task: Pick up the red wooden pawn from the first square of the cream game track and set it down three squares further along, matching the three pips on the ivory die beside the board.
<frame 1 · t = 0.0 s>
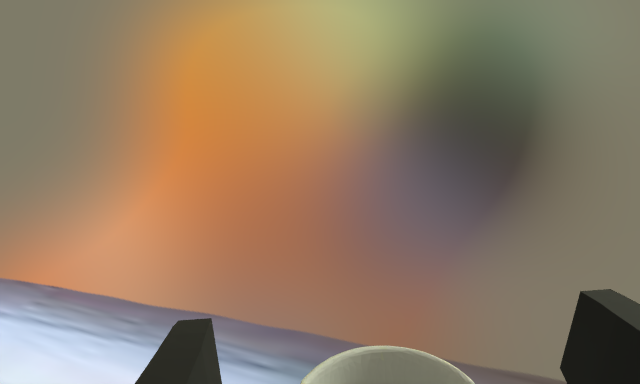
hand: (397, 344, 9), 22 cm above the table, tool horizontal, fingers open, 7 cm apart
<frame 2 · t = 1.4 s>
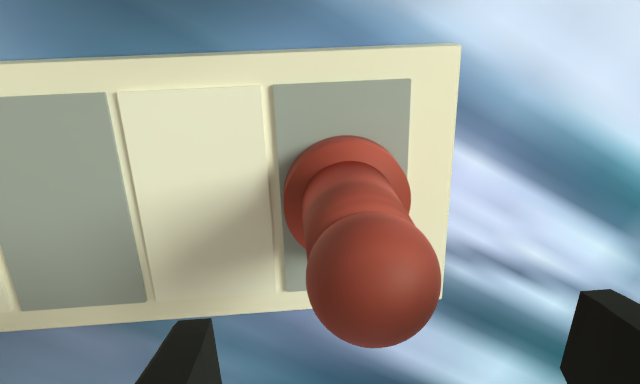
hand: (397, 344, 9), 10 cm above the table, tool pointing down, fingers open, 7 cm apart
pawn: (344, 194, 17), point 1 cm above the table, touching board
board: (72, 197, 18), on the table
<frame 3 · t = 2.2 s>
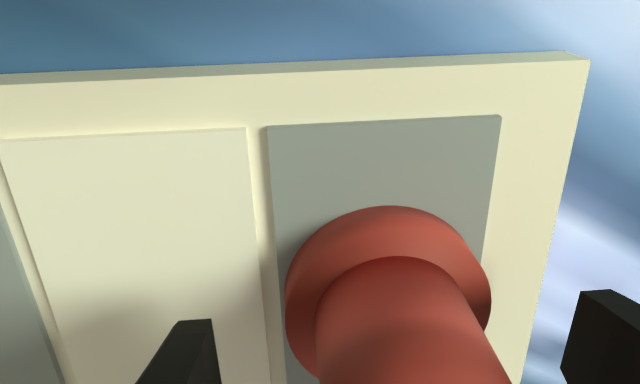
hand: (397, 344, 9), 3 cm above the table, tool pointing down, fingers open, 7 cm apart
pawn: (380, 289, 11), point 1 cm above the table, touching board
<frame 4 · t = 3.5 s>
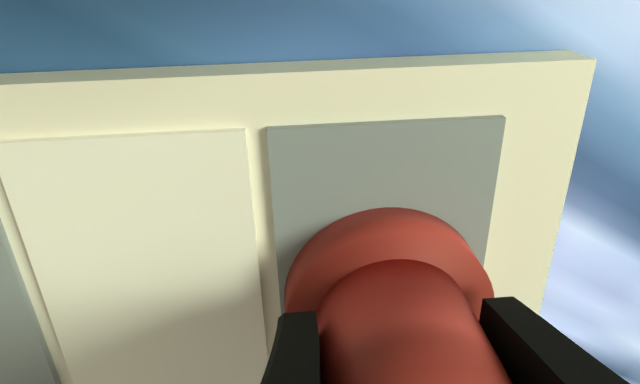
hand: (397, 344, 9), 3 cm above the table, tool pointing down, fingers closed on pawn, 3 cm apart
pawn: (381, 292, 11), point 1 cm above the table, touching board, gripper
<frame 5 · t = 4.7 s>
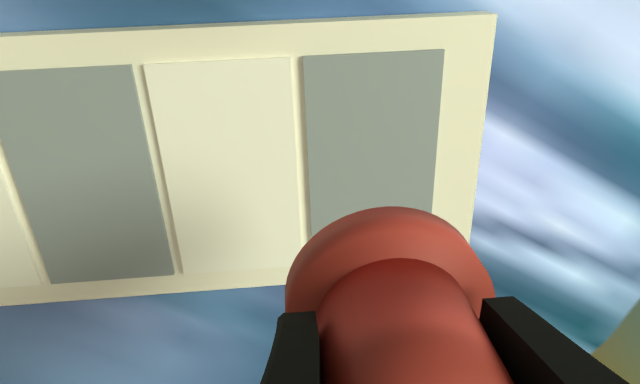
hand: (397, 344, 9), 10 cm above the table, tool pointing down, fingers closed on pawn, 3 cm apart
pawn: (382, 292, 11), point 8 cm above the table, touching gripper
board: (98, 171, 18), on the table
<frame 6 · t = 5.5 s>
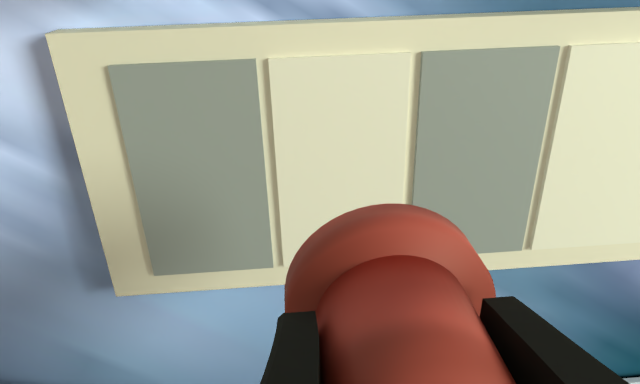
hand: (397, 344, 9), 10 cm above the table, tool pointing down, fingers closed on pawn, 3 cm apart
pawn: (382, 289, 11), point 8 cm above the table, touching gripper
board: (466, 150, 19), on the table
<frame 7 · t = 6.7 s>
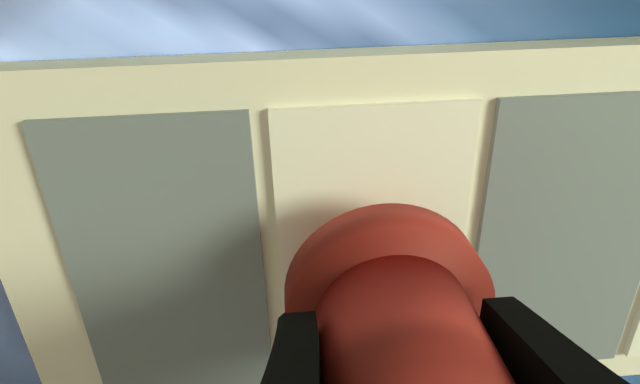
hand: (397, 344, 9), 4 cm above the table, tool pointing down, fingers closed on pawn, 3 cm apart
pawn: (381, 289, 11), point 2 cm above the table, touching gripper
board: (542, 225, 13), on the table
when the fingers open (4 cm above the table, at t = 7.3 s): pawn drops 1 cm, resting on board.
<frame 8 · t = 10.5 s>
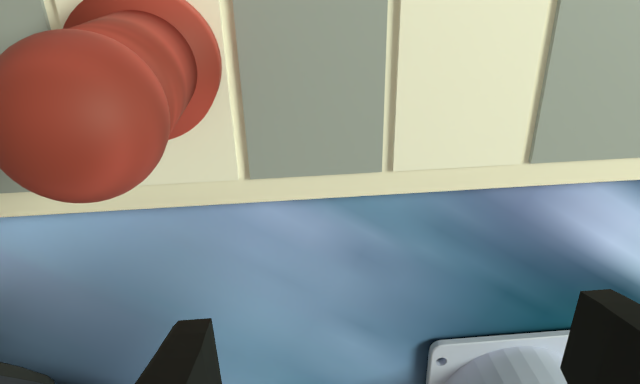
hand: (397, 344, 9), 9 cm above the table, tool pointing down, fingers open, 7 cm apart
pawn: (148, 62, 15), point 1 cm above the table, touching board
board: (310, 51, 16), on the table
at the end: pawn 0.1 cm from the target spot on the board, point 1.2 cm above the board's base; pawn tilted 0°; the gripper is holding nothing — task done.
